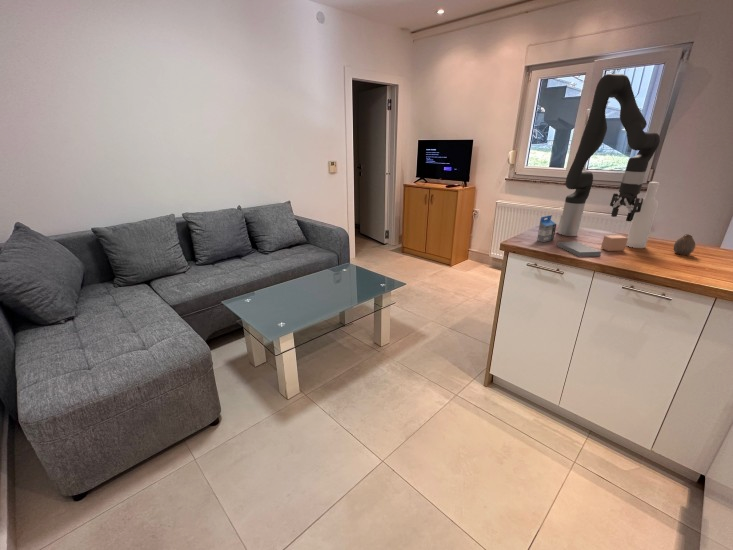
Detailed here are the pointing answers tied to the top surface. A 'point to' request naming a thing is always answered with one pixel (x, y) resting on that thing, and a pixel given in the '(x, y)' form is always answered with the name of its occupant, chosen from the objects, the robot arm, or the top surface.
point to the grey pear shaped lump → (684, 245)
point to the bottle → (643, 218)
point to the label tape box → (546, 229)
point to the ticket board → (579, 249)
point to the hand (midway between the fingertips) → (621, 218)
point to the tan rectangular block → (614, 243)
